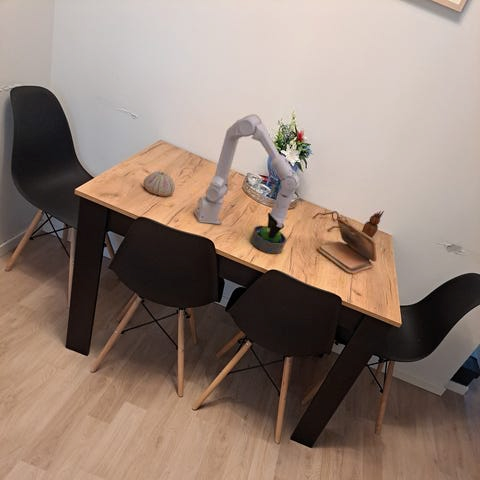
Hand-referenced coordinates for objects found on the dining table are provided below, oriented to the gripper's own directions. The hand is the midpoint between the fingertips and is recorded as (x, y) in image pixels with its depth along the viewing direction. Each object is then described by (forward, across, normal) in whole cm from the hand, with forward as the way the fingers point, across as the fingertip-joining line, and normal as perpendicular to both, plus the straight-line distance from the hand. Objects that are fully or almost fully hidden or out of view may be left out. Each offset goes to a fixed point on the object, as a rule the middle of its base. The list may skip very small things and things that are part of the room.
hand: (270, 234), depth 188 cm
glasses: (+5, +38, -39) cm, 55 cm away
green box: (+1, 0, 0) cm, 1 cm away
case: (+5, +5, -38) cm, 39 cm away
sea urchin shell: (+5, +26, +46) cm, 53 cm away
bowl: (+5, 0, 0) cm, 5 cm away
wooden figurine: (+5, +35, -59) cm, 69 cm away
